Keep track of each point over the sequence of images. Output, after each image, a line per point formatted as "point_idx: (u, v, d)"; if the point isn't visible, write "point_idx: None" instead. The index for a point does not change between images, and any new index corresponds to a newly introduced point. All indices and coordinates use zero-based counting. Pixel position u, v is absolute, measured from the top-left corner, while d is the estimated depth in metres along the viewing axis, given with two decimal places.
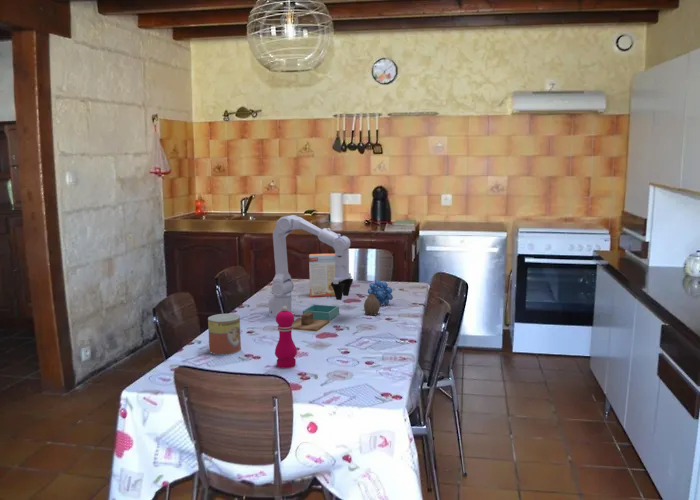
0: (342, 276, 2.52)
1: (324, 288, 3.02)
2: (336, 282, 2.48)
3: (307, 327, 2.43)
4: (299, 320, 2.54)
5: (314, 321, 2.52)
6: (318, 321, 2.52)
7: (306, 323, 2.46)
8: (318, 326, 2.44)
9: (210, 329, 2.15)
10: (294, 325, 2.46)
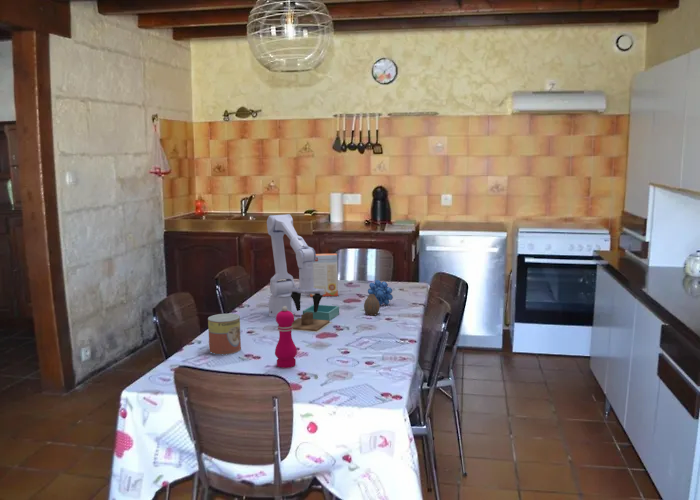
0: (299, 288, 2.46)
1: (324, 288, 3.02)
2: None
3: (307, 327, 2.43)
4: (299, 320, 2.54)
5: (314, 321, 2.52)
6: (318, 321, 2.52)
7: (306, 323, 2.46)
8: (318, 326, 2.44)
9: (210, 329, 2.15)
10: (294, 325, 2.46)
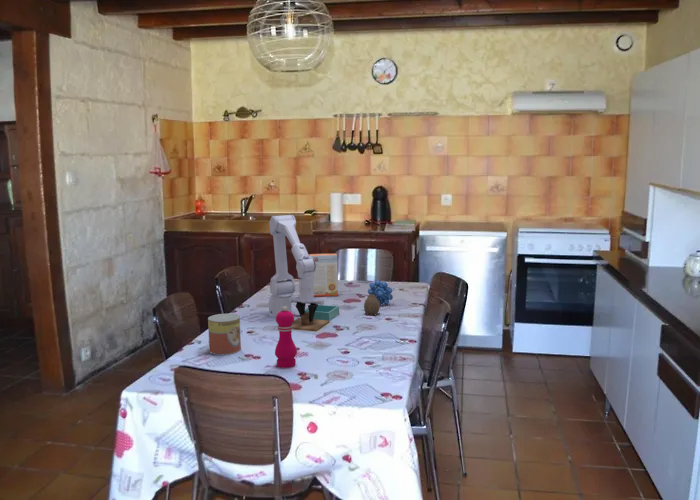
0: (299, 298, 2.47)
1: (324, 288, 3.02)
2: None
3: (307, 327, 2.43)
4: (299, 320, 2.54)
5: (314, 321, 2.52)
6: (318, 321, 2.52)
7: (306, 323, 2.46)
8: (318, 326, 2.44)
9: (210, 329, 2.15)
10: (294, 325, 2.46)
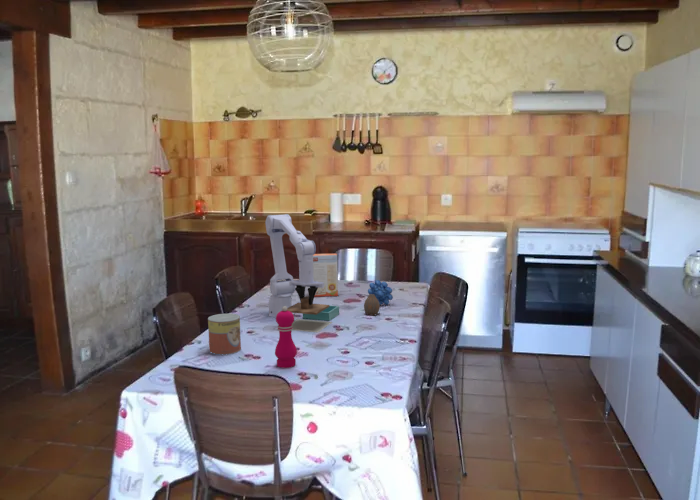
0: (299, 281, 2.46)
1: (324, 288, 3.02)
2: None
3: (307, 310, 2.42)
4: (299, 304, 2.53)
5: (314, 305, 2.51)
6: (318, 305, 2.51)
7: (306, 307, 2.45)
8: (318, 310, 2.43)
9: (210, 329, 2.15)
10: (294, 309, 2.45)
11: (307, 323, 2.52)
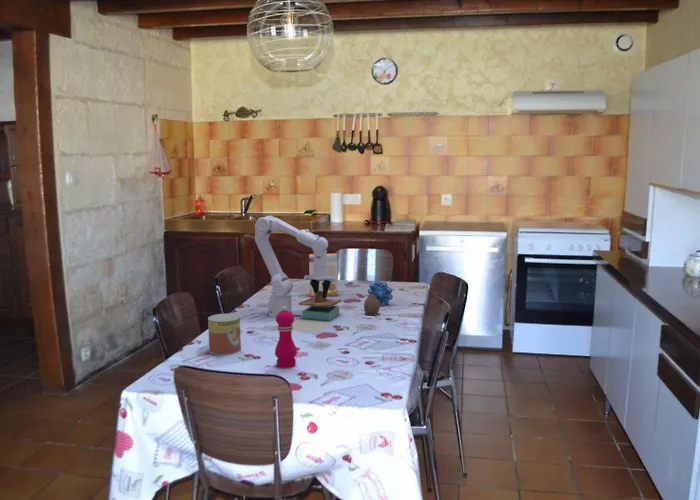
0: (313, 275, 2.60)
1: None
2: None
3: (321, 303, 2.56)
4: (312, 299, 2.66)
5: (327, 300, 2.64)
6: (331, 300, 2.64)
7: (320, 300, 2.59)
8: (331, 303, 2.57)
9: (210, 329, 2.15)
10: (308, 302, 2.59)
11: (307, 323, 2.52)
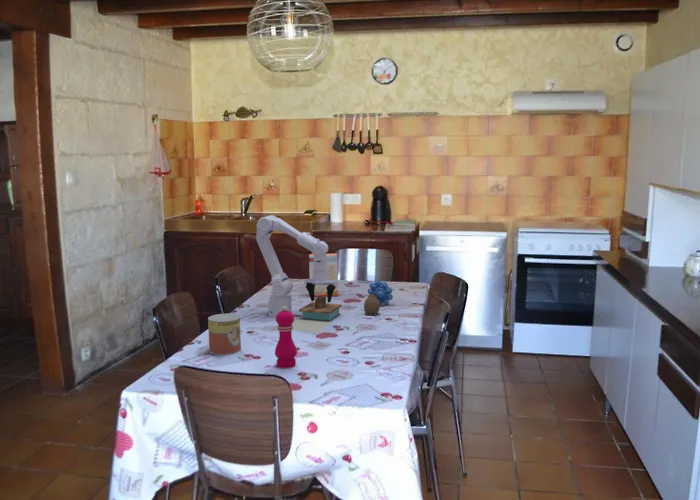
0: (313, 279, 2.60)
1: (324, 288, 3.02)
2: None
3: (321, 310, 2.56)
4: (312, 304, 2.67)
5: (327, 305, 2.65)
6: (331, 305, 2.65)
7: (320, 306, 2.59)
8: (331, 309, 2.57)
9: (210, 329, 2.15)
10: (308, 308, 2.59)
11: (307, 323, 2.52)
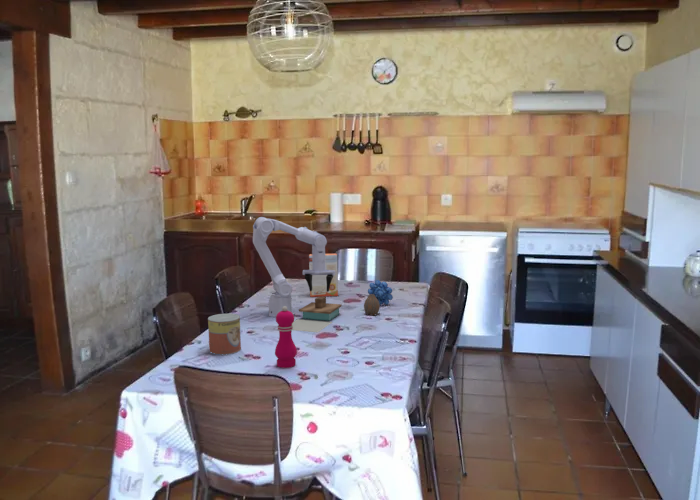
0: (312, 270, 2.69)
1: (324, 288, 3.02)
2: None
3: (321, 310, 2.56)
4: (312, 304, 2.67)
5: (327, 305, 2.65)
6: (331, 305, 2.65)
7: (320, 306, 2.59)
8: (331, 309, 2.57)
9: (210, 329, 2.15)
10: (308, 308, 2.59)
11: (307, 323, 2.52)
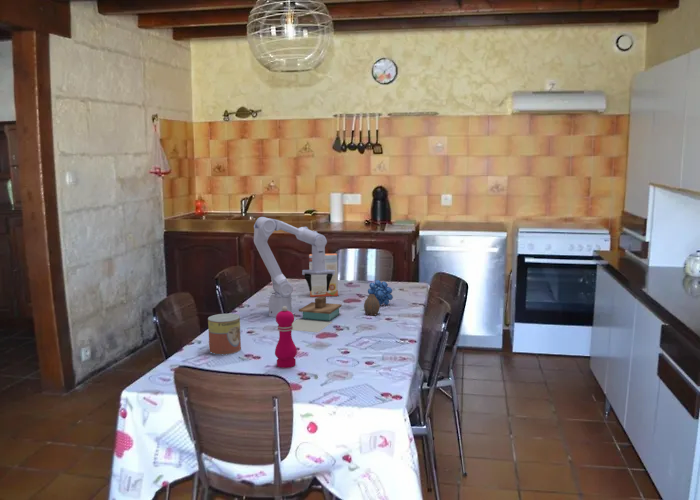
0: (312, 269, 2.70)
1: (324, 288, 3.02)
2: (302, 273, 2.72)
3: (321, 310, 2.56)
4: (312, 304, 2.67)
5: (327, 305, 2.65)
6: (331, 305, 2.65)
7: (320, 306, 2.59)
8: (331, 309, 2.57)
9: (210, 329, 2.15)
10: (308, 308, 2.59)
11: (307, 323, 2.52)
